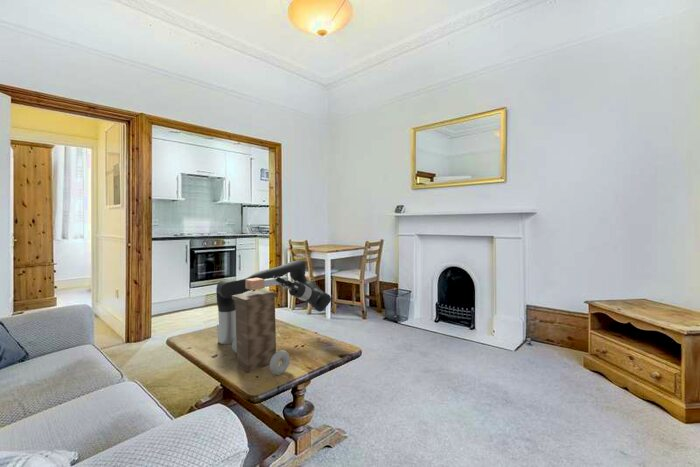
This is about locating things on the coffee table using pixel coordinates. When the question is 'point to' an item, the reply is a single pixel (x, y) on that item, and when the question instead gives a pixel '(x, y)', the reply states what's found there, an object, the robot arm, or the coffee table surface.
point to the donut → (275, 359)
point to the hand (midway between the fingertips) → (275, 278)
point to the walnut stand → (255, 329)
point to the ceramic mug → (234, 346)
